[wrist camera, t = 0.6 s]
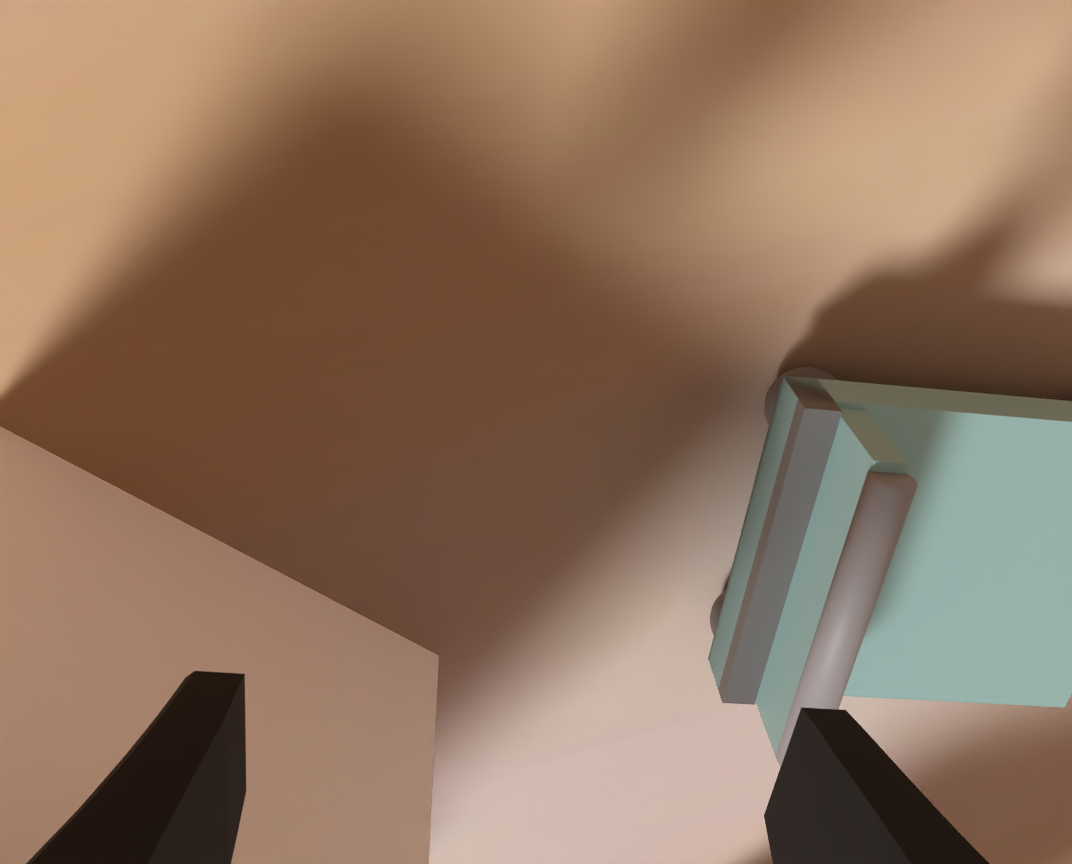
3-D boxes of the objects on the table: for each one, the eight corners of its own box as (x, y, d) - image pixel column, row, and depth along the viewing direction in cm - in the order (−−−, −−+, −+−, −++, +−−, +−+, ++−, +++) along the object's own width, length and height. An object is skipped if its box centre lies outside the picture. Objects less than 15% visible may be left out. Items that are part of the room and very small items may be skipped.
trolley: (1015, 642, 23) (1135, 801, 19) (697, 623, 22) (749, 785, 18) (1131, 384, 20) (1307, 507, 16) (765, 350, 19) (846, 470, 15)
